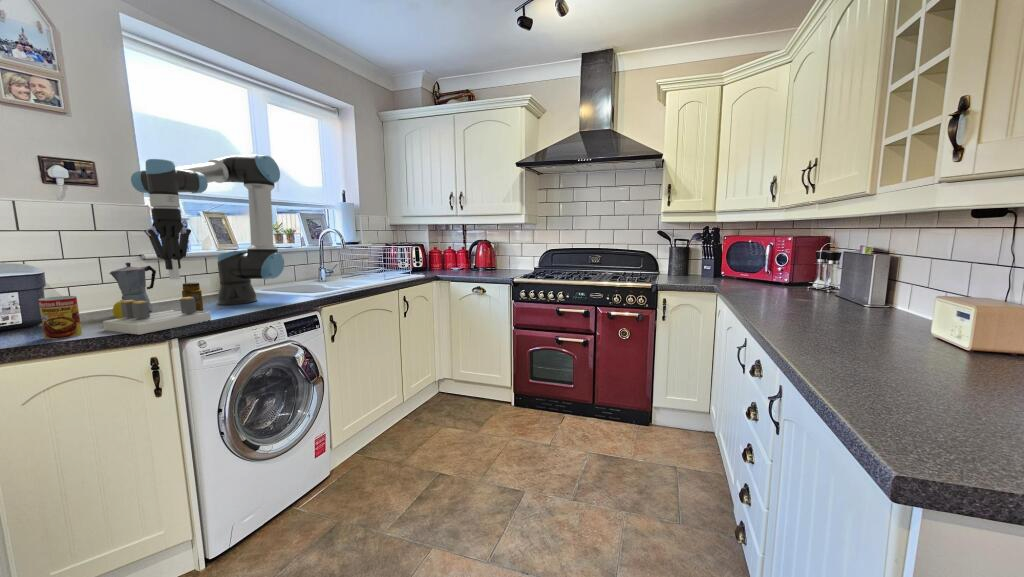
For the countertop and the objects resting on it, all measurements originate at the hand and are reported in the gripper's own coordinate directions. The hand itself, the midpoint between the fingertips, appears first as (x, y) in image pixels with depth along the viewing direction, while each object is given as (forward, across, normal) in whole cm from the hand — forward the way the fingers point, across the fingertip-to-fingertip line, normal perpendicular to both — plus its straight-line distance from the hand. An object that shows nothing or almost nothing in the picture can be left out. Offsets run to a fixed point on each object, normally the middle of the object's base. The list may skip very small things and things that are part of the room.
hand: (174, 278), depth 141 cm
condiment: (+16, +14, +16) cm, 27 cm away
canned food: (+16, -23, +17) cm, 33 cm away
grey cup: (+12, -8, +6) cm, 16 cm away
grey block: (+12, +3, 0) cm, 13 cm away
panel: (+16, -3, +6) cm, 17 cm away
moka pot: (+16, +9, +41) cm, 45 cm away
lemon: (+16, -4, +24) cm, 29 cm away
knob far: (+12, -8, +12) cm, 19 cm away
